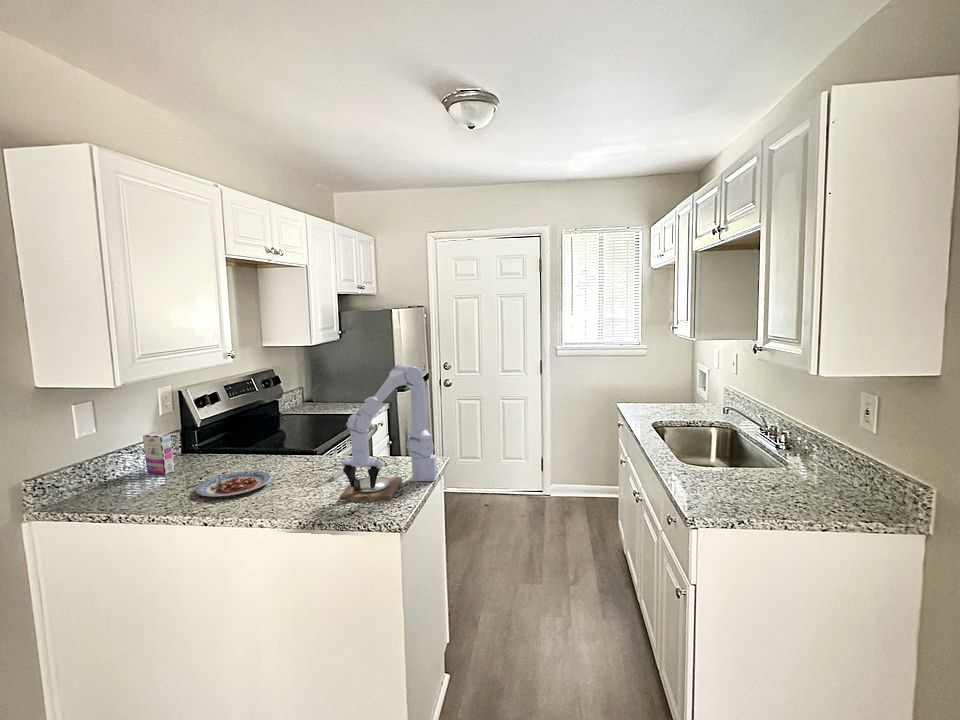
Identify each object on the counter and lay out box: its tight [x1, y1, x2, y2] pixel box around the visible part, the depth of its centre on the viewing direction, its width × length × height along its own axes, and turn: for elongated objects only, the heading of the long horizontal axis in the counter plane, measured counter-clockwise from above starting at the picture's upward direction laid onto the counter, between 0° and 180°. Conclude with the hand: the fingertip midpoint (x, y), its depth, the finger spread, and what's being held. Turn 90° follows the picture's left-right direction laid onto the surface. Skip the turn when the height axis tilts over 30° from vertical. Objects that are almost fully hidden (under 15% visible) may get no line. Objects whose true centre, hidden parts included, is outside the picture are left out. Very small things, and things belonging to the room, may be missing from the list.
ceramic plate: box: [195, 470, 272, 498], centre depth 197 cm, size 26×26×3 cm
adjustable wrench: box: [327, 467, 345, 482], centre depth 211 cm, size 25×6×2 cm, turn 159°
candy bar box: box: [142, 432, 176, 476], centre depth 217 cm, size 11×5×16 cm, turn 68°
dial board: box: [339, 476, 403, 501], centre depth 188 cm, size 18×18×2 cm
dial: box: [352, 477, 389, 494], centre depth 186 cm, size 14×12×5 cm
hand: (363, 486), depth 181 cm, fingers open, 7 cm apart
